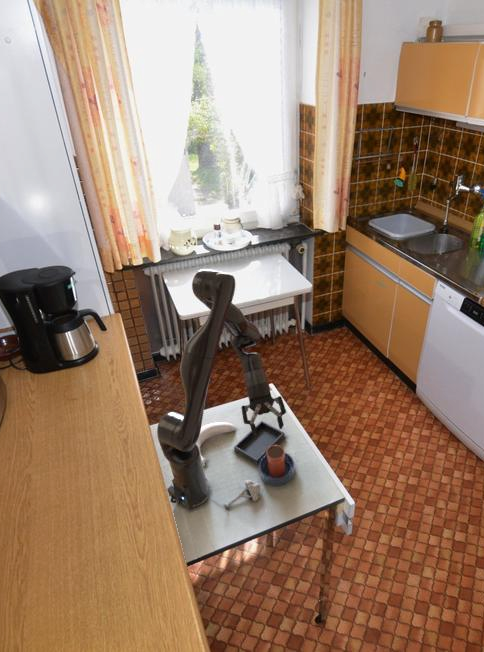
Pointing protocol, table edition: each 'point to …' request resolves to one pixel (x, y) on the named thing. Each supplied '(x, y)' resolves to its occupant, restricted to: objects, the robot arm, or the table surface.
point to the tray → (259, 442)
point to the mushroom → (253, 489)
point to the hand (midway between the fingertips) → (268, 432)
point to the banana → (212, 433)
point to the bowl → (282, 480)
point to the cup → (276, 461)
